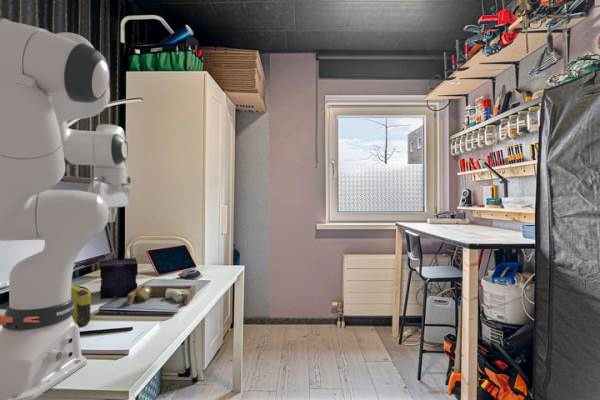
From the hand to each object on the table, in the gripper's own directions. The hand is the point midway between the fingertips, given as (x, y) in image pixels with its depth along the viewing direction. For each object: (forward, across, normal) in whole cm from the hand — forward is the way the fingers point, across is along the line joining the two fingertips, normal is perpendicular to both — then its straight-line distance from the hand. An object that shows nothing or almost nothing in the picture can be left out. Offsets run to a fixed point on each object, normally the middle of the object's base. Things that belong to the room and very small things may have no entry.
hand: (109, 222), depth 110 cm
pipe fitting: (+29, +15, -16) cm, 37 cm away
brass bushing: (+27, +18, -5) cm, 33 cm away
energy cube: (+29, +23, +7) cm, 38 cm away
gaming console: (+29, -2, +12) cm, 32 cm away
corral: (+29, +15, -12) cm, 35 cm away
